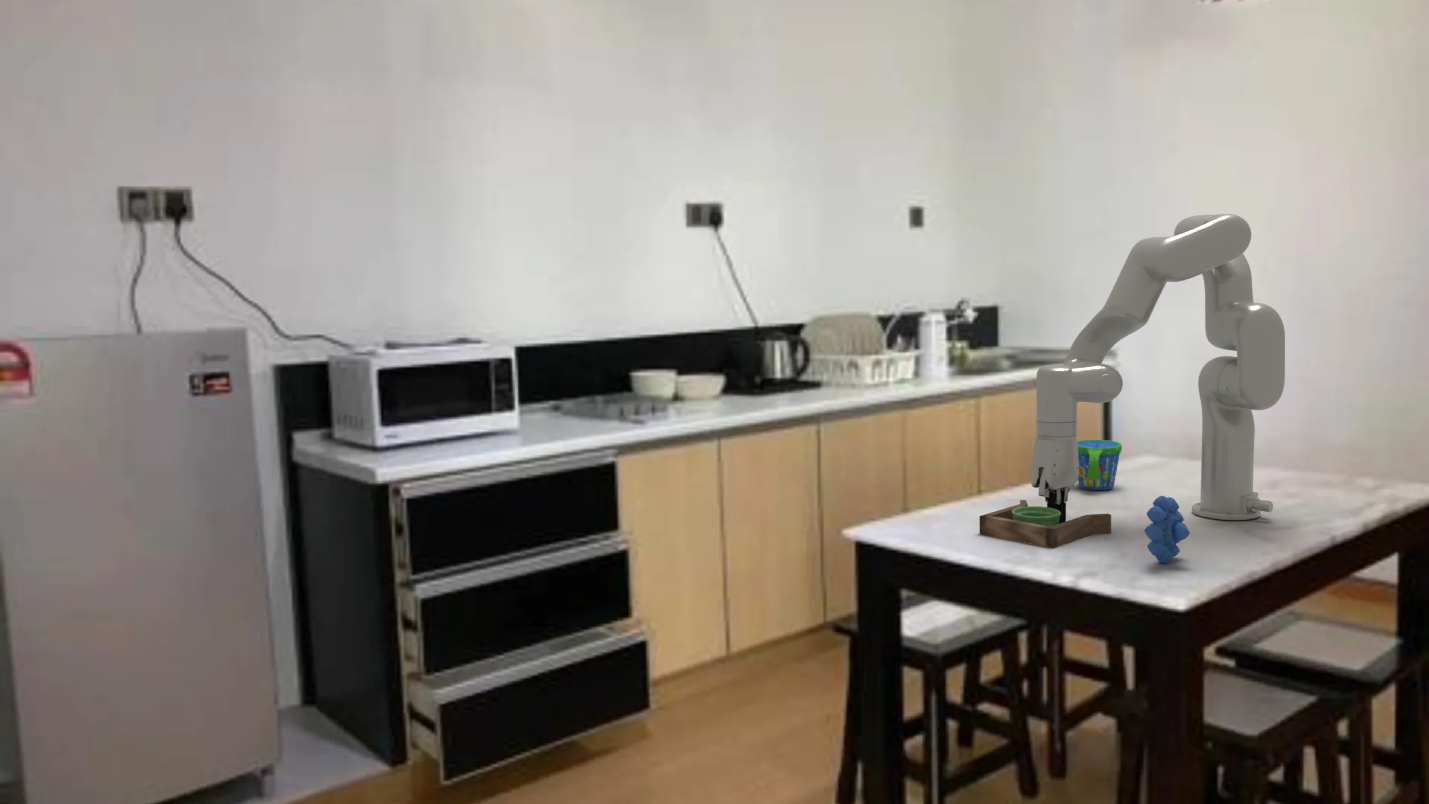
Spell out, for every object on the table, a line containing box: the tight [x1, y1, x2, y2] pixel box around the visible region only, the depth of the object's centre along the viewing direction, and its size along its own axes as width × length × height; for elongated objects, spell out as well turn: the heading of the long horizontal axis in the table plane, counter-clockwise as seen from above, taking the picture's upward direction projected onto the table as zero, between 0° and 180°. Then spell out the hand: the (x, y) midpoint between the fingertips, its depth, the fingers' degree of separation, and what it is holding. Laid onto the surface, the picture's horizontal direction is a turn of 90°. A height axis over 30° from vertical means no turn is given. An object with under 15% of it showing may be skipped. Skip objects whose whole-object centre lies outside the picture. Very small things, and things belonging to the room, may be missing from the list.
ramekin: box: [1012, 505, 1061, 527], centre depth 217 cm, size 9×9×4 cm
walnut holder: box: [979, 499, 1112, 549], centre depth 218 cm, size 20×17×4 cm
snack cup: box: [1077, 439, 1123, 491], centre depth 255 cm, size 16×10×10 cm
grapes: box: [1144, 495, 1191, 564], centre depth 194 cm, size 12×7×12 cm, turn 136°
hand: (1056, 522), depth 221 cm, fingers closed
